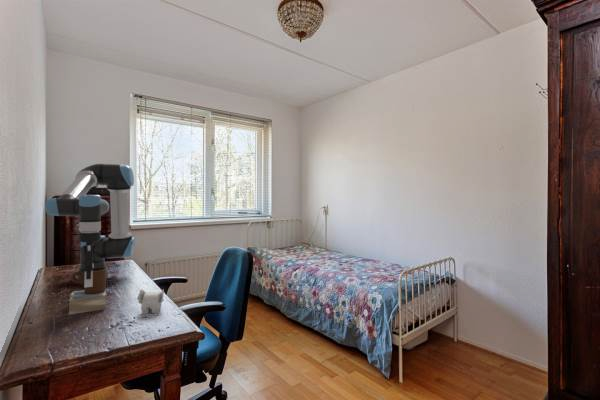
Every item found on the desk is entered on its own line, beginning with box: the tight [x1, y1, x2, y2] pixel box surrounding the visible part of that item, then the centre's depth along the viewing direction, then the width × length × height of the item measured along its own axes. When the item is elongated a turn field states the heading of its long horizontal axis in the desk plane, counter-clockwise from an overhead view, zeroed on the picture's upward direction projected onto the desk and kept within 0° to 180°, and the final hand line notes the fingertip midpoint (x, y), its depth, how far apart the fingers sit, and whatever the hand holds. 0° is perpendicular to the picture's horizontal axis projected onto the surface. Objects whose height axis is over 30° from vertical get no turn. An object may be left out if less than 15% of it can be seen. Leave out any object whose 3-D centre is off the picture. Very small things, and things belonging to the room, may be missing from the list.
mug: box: [71, 268, 107, 294], centre depth 126 cm, size 12×8×9 cm, turn 119°
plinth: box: [68, 289, 107, 315], centre depth 126 cm, size 12×12×6 cm
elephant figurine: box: [136, 288, 165, 315], centre depth 124 cm, size 10×12×9 cm
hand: (89, 282), depth 127 cm, fingers open, 13 cm apart
